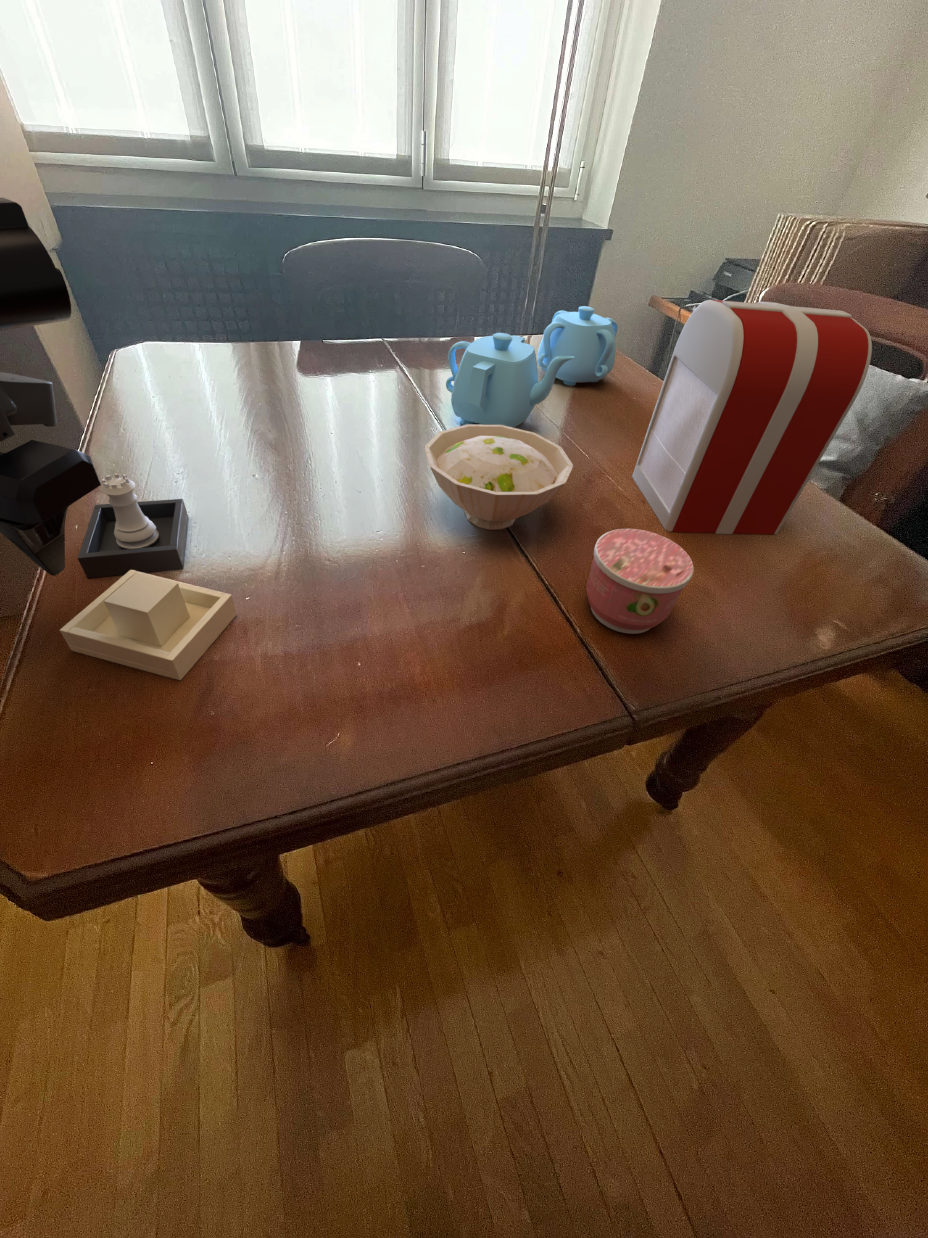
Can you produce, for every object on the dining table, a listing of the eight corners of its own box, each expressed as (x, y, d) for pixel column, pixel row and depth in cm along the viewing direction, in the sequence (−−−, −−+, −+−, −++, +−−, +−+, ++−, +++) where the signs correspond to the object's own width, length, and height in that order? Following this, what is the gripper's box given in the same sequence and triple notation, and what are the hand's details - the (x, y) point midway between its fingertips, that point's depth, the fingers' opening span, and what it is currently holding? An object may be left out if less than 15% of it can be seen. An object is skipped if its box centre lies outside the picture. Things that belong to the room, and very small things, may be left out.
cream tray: (71, 650, 52) (58, 629, 50) (139, 589, 59) (130, 569, 57) (180, 680, 51) (172, 660, 49) (237, 614, 57) (231, 594, 56)
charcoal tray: (183, 569, 62) (176, 549, 60) (87, 578, 59) (77, 558, 57) (188, 517, 69) (183, 498, 67) (103, 524, 67) (94, 504, 65)
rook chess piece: (124, 529, 65) (100, 468, 59) (164, 529, 66) (144, 469, 60) (111, 552, 62) (84, 489, 56) (153, 552, 62) (130, 490, 57)
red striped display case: (630, 474, 89) (692, 284, 70) (730, 478, 91) (816, 295, 72) (666, 532, 77) (752, 322, 58) (781, 535, 79) (899, 334, 61)
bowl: (456, 570, 66) (464, 498, 59) (400, 490, 78) (401, 423, 72) (586, 541, 73) (606, 474, 67) (516, 472, 86) (527, 409, 79)
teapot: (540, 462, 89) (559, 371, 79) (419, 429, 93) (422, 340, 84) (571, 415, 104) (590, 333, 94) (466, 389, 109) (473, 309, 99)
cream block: (120, 635, 53) (103, 601, 50) (150, 606, 56) (136, 572, 53) (161, 646, 52) (147, 612, 49) (190, 616, 56) (178, 582, 52)
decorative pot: (546, 358, 127) (558, 292, 118) (614, 372, 124) (631, 306, 115) (526, 379, 116) (537, 308, 107) (600, 396, 113) (618, 324, 103)
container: (560, 608, 63) (576, 552, 57) (607, 571, 69) (625, 517, 64) (641, 657, 58) (667, 601, 53) (683, 612, 64) (710, 558, 59)
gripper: (115, 337, 37) (178, 530, 48) (-115, 292, 39) (-6, 486, 50) (-33, 395, 29) (82, 611, 39) (-313, 335, 31) (-133, 555, 42)
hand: (7, 559), depth 43 cm, fingers open, 9 cm apart
